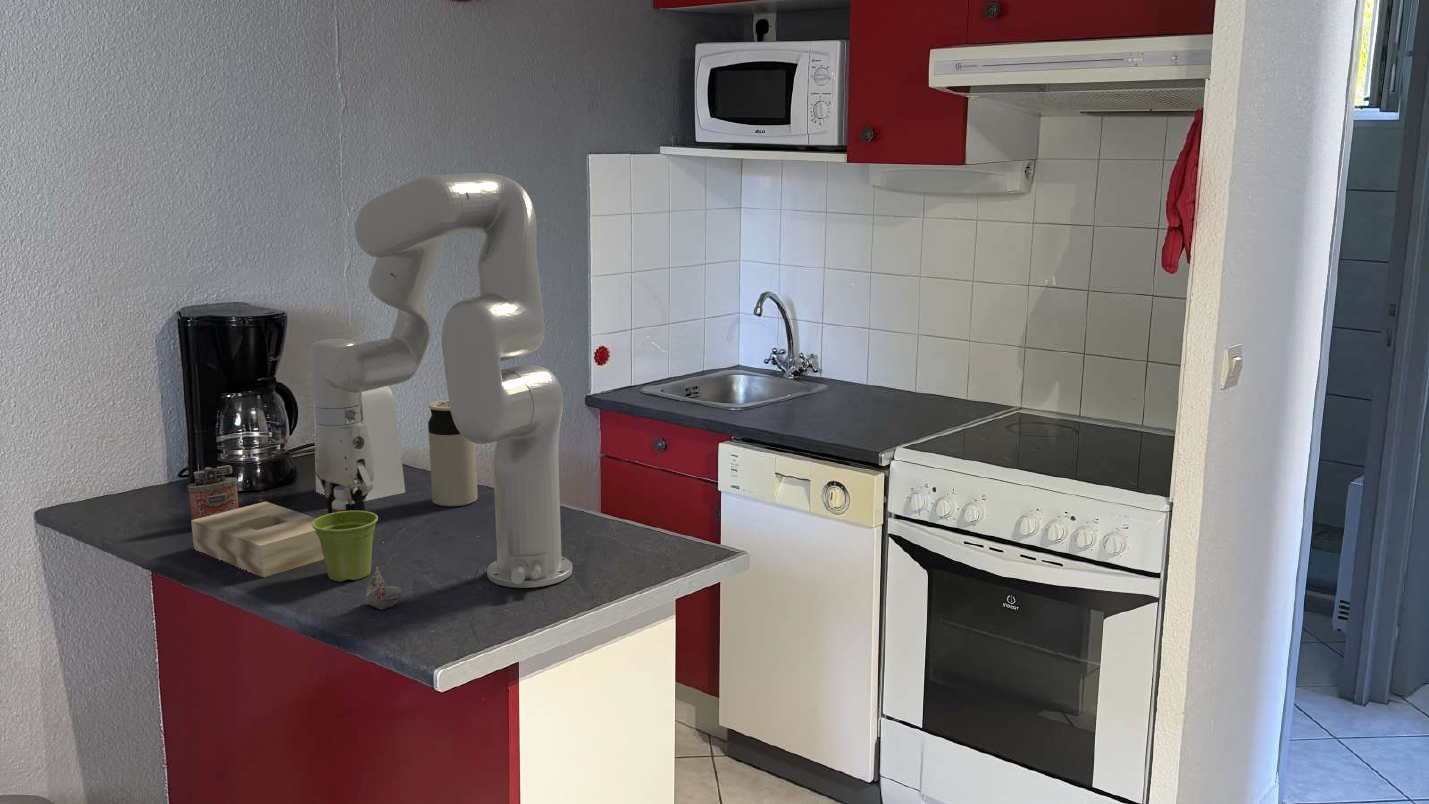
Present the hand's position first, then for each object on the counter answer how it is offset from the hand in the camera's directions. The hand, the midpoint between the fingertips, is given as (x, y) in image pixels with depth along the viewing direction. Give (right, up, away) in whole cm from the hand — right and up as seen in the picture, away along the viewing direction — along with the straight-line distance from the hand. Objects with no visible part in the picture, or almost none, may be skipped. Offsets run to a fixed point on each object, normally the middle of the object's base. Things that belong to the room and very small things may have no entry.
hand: (346, 521), depth 204 cm
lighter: (-24, -1, +5) cm, 24 cm away
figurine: (+15, -9, -31) cm, 36 cm away
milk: (-5, +3, +24) cm, 24 cm away
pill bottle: (0, -2, 0) cm, 2 cm away
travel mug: (+14, +2, +18) cm, 23 cm away
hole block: (-10, -4, -9) cm, 14 cm away
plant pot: (+6, -6, -20) cm, 21 cm away
